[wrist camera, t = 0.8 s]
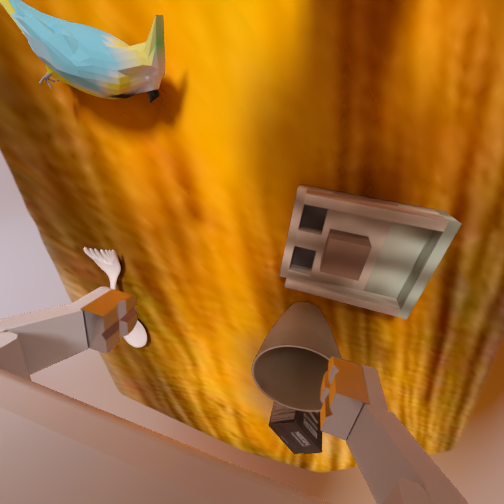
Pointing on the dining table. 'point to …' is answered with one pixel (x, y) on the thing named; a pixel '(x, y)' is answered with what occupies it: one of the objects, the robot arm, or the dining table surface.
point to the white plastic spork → (112, 269)
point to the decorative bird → (92, 54)
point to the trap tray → (380, 257)
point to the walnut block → (345, 254)
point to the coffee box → (297, 429)
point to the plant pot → (296, 358)
